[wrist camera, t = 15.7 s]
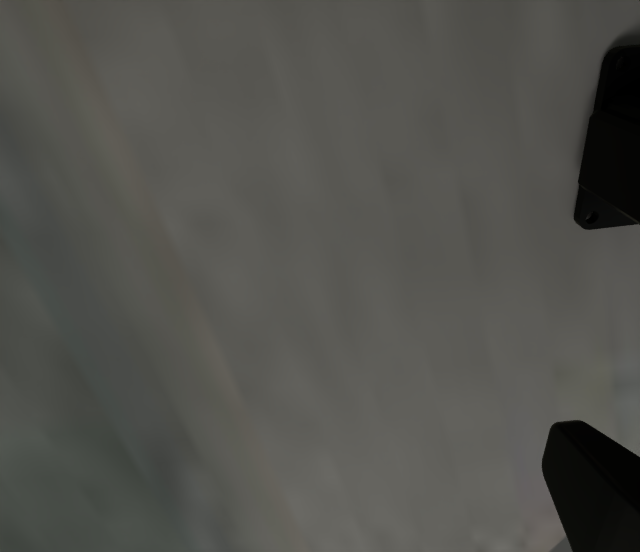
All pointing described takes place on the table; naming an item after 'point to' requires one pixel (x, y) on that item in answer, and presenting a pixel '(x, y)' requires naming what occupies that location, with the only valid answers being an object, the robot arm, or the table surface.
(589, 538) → the robot arm
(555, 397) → the table surface
